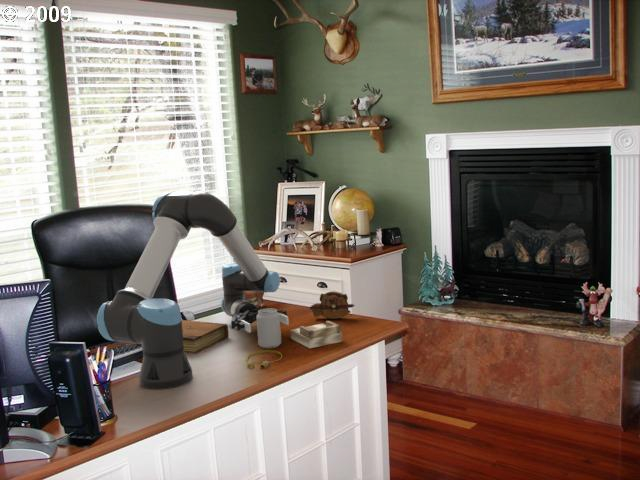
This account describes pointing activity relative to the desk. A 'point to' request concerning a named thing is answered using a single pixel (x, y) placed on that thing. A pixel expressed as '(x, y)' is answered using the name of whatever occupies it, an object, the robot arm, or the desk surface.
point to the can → (268, 328)
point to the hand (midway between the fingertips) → (268, 324)
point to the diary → (202, 335)
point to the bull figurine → (254, 296)
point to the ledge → (317, 334)
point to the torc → (265, 363)
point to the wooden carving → (332, 305)
